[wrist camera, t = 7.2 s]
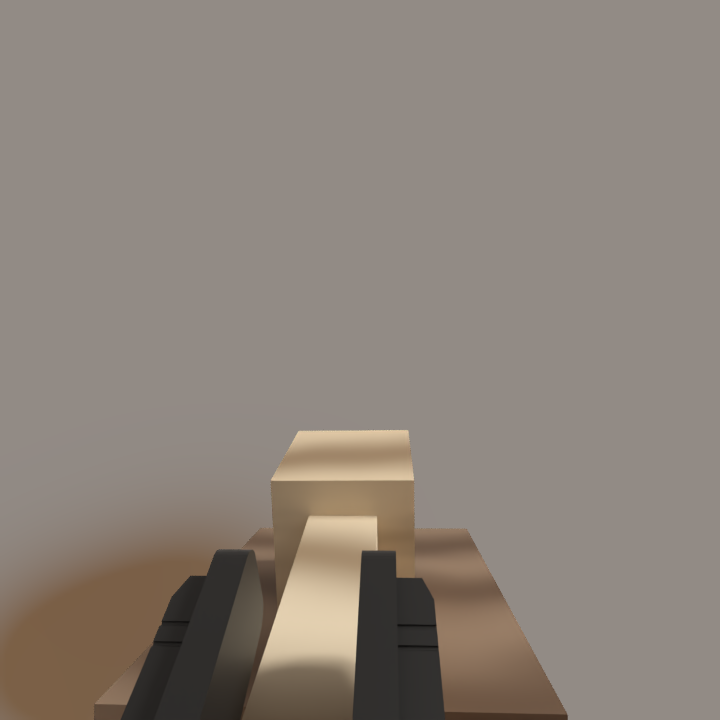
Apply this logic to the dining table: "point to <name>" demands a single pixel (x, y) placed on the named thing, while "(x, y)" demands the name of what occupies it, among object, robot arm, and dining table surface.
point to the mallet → (329, 564)
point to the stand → (454, 629)
